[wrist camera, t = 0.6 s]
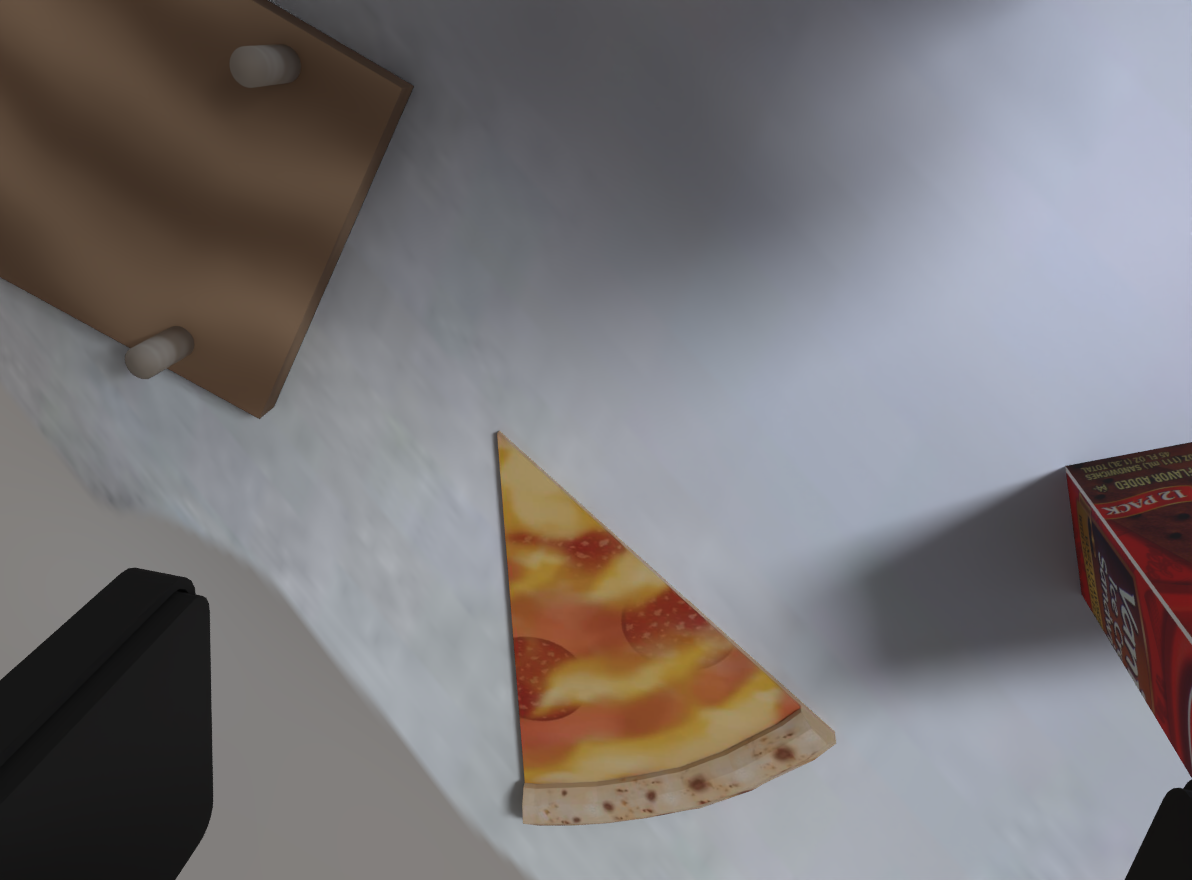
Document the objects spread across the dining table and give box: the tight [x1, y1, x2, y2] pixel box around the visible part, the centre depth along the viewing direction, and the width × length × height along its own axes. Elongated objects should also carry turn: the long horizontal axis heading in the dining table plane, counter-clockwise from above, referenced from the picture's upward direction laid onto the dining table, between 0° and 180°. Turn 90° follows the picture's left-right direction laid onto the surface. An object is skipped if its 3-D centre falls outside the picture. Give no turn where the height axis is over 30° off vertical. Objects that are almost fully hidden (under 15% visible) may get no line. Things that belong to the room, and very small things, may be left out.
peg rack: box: [0, 0, 414, 419], centre depth 40 cm, size 16×20×4 cm
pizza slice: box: [497, 431, 836, 826], centre depth 47 cm, size 16×22×2 cm
